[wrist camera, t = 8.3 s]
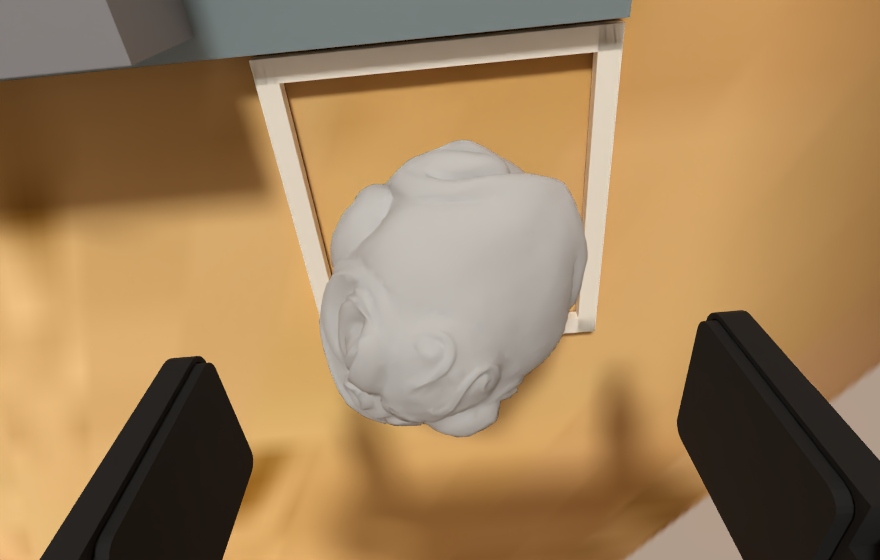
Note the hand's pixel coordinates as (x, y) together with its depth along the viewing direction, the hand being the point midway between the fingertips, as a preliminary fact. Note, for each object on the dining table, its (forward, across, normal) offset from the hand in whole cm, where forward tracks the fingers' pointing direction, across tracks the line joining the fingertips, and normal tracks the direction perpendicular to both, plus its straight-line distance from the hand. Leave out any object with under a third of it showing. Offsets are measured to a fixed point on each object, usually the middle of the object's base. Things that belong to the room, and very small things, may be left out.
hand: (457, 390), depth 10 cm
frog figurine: (+7, 0, -1) cm, 7 cm away
